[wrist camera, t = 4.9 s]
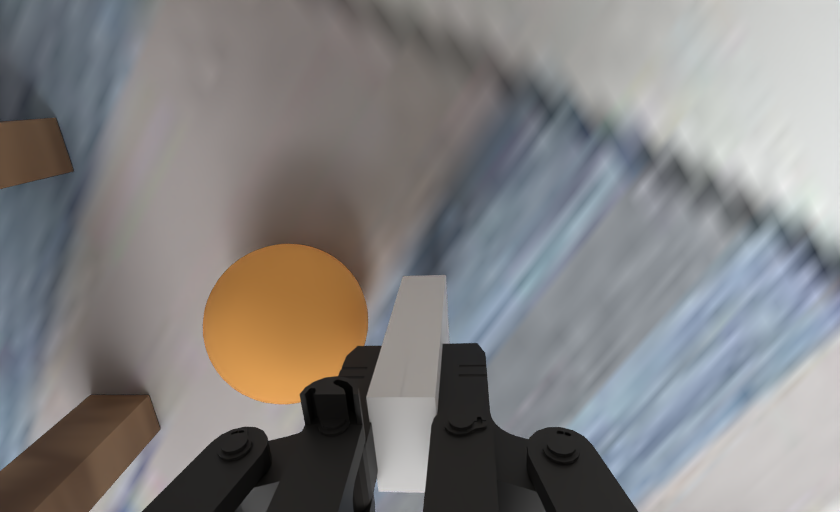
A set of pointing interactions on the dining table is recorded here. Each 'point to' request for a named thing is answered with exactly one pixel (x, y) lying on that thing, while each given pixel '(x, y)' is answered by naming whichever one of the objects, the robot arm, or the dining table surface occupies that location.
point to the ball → (283, 321)
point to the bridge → (98, 414)
